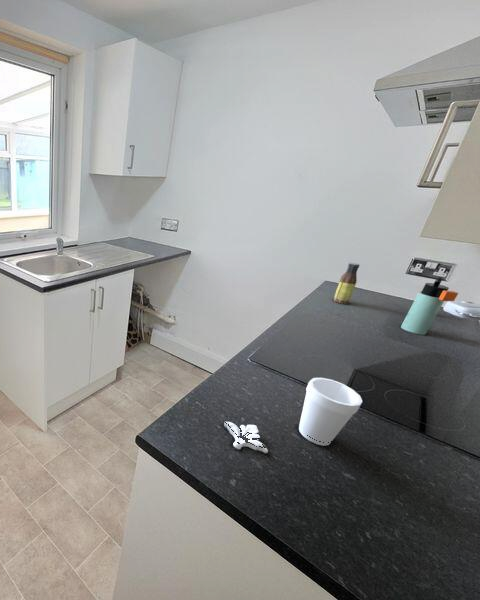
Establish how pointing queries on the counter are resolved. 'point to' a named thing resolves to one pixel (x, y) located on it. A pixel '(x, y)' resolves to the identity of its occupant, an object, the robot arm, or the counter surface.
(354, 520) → the counter surface
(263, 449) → the acanthus leaf ornament
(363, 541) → the counter surface
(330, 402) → the foam cup
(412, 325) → the sports bottle
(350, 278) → the sauce bottle
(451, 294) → the nozzle button
